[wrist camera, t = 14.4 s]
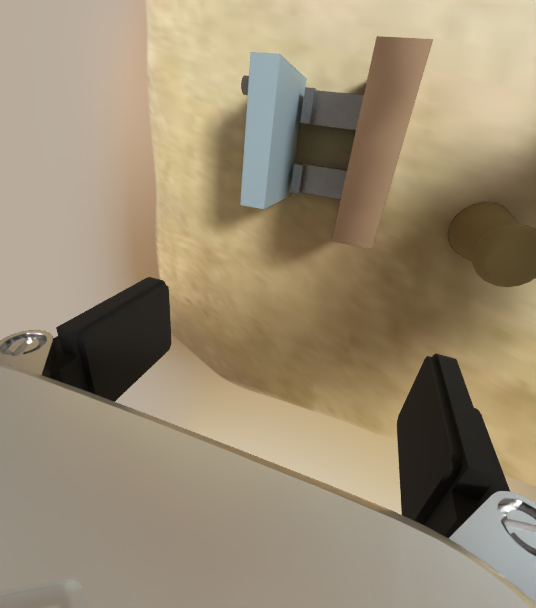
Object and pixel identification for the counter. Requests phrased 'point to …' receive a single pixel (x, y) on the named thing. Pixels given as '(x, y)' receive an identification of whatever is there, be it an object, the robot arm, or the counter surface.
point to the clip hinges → (327, 113)
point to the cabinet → (379, 136)
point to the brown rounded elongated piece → (495, 244)
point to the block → (270, 128)
